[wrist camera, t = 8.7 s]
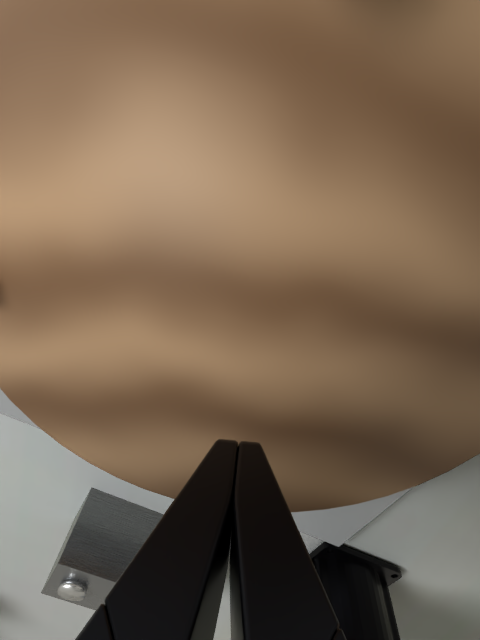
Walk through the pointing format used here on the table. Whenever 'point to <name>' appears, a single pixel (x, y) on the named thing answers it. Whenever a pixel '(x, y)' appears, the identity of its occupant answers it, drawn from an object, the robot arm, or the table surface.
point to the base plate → (318, 523)
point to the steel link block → (99, 548)
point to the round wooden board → (244, 236)
